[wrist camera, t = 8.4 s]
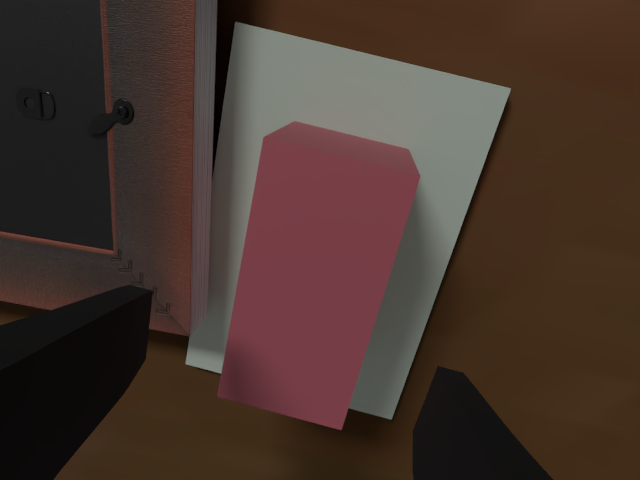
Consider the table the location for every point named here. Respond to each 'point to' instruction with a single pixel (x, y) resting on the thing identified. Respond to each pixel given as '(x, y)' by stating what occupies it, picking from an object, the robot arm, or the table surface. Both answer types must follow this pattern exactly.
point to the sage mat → (363, 121)
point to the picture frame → (107, 152)
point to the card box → (314, 269)
